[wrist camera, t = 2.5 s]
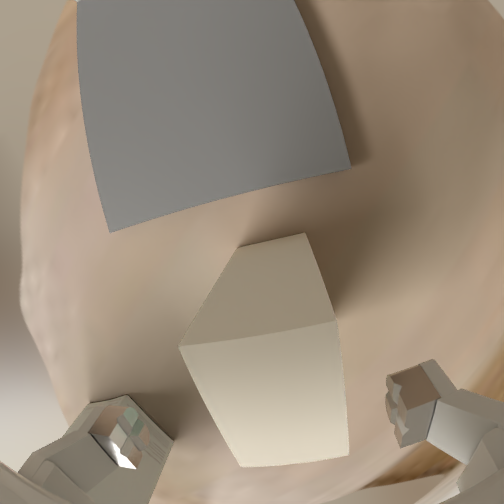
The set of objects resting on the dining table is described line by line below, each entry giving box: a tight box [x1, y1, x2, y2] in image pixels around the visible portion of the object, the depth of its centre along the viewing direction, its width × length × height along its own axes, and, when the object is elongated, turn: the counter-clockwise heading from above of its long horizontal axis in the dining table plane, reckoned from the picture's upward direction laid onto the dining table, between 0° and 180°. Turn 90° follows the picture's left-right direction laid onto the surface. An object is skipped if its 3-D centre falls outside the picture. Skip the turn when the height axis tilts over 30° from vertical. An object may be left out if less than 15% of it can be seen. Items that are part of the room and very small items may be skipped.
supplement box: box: [63, 395, 174, 504], centre depth 16 cm, size 7×7×13 cm
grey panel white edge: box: [75, 0, 352, 233], centre depth 11 cm, size 14×20×4 cm
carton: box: [178, 233, 349, 467], centre depth 12 cm, size 6×4×10 cm
